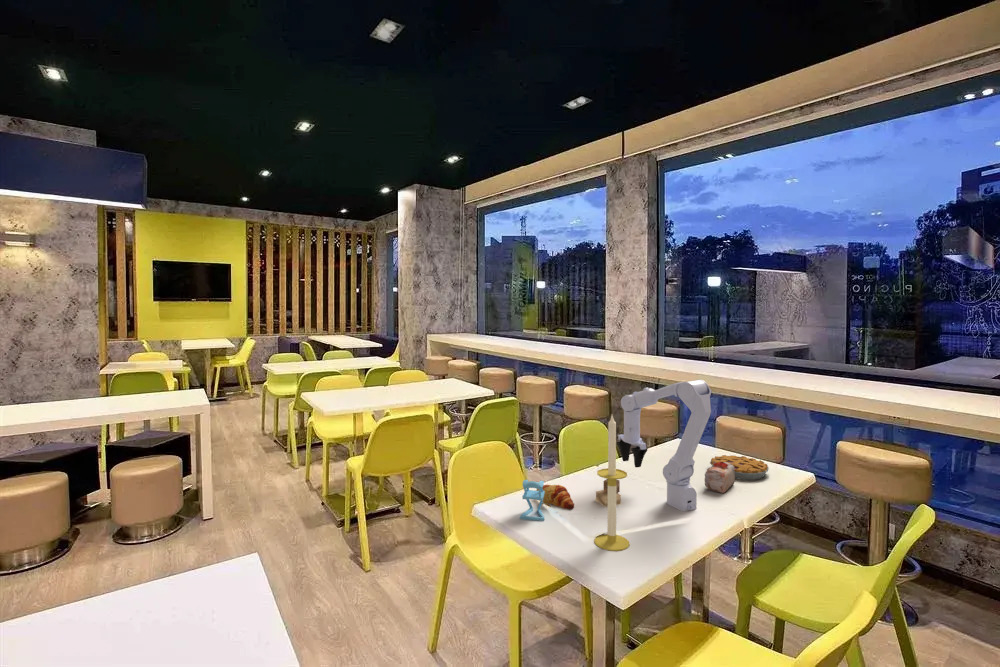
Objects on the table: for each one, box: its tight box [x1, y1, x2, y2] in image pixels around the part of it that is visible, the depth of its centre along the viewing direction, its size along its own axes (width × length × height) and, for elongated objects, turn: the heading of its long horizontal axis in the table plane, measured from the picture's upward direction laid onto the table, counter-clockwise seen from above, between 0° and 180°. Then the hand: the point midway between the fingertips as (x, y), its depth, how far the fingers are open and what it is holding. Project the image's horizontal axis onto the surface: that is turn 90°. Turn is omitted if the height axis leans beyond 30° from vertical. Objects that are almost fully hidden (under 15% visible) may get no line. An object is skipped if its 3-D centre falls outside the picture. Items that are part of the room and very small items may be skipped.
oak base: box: [595, 489, 622, 507], centre depth 171 cm, size 6×6×3 cm
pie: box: [709, 454, 770, 481], centre depth 205 cm, size 22×22×5 cm
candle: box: [593, 415, 630, 552], centre depth 143 cm, size 10×10×38 cm
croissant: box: [536, 484, 575, 510], centre depth 174 cm, size 21×10×8 cm, turn 29°
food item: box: [704, 461, 736, 494], centre depth 188 cm, size 14×8×10 cm, turn 139°
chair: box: [519, 479, 545, 522], centre depth 164 cm, size 8×8×12 cm
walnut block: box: [603, 478, 621, 494], centre depth 172 cm, size 4×4×4 cm
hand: (631, 463), depth 184 cm, fingers open, 7 cm apart
